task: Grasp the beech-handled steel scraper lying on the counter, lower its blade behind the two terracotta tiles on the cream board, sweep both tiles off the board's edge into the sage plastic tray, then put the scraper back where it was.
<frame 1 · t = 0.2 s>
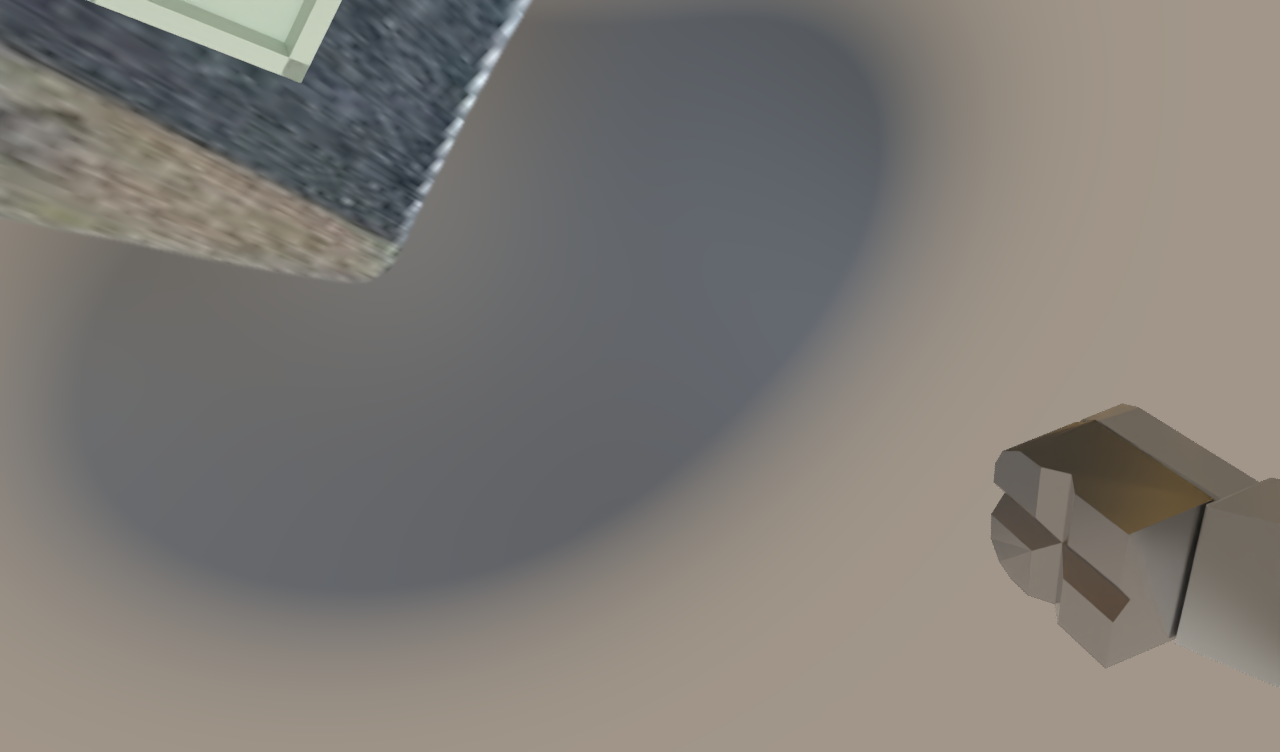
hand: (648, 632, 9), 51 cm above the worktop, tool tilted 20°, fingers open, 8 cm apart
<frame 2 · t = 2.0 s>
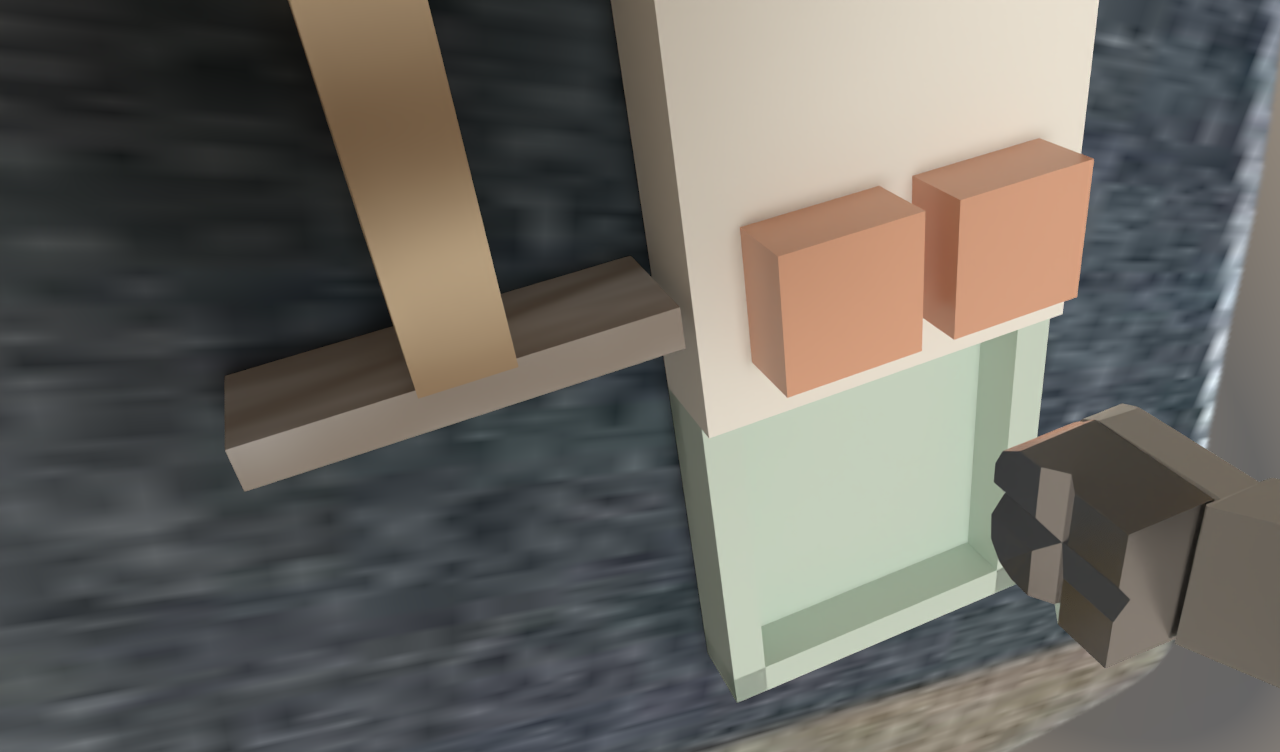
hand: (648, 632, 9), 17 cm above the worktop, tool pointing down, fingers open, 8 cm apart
tile 1: (813, 276, 25), point 3 cm above the worktop, touching board
scraper: (442, 330, 26), on the worktop
tray: (844, 475, 34), on the worktop
board: (832, 41, 26), on the worktop
tile 2: (973, 225, 26), point 3 cm above the worktop, touching board
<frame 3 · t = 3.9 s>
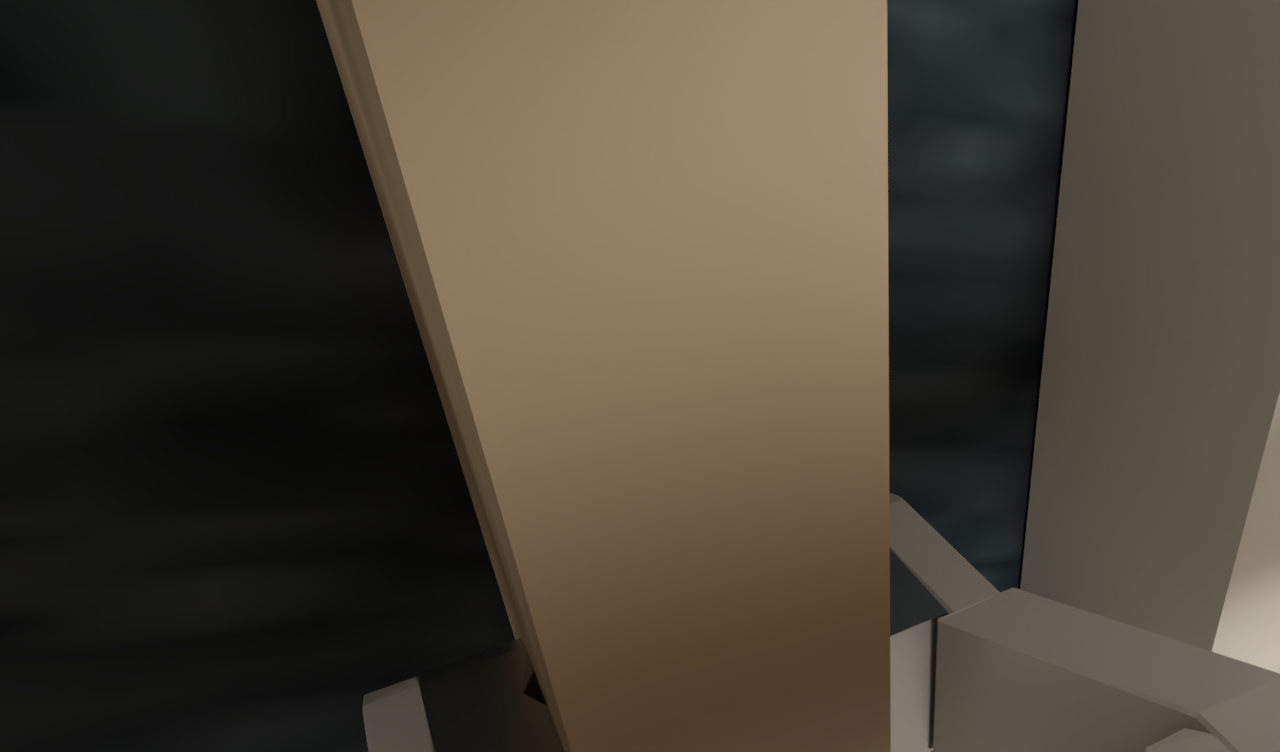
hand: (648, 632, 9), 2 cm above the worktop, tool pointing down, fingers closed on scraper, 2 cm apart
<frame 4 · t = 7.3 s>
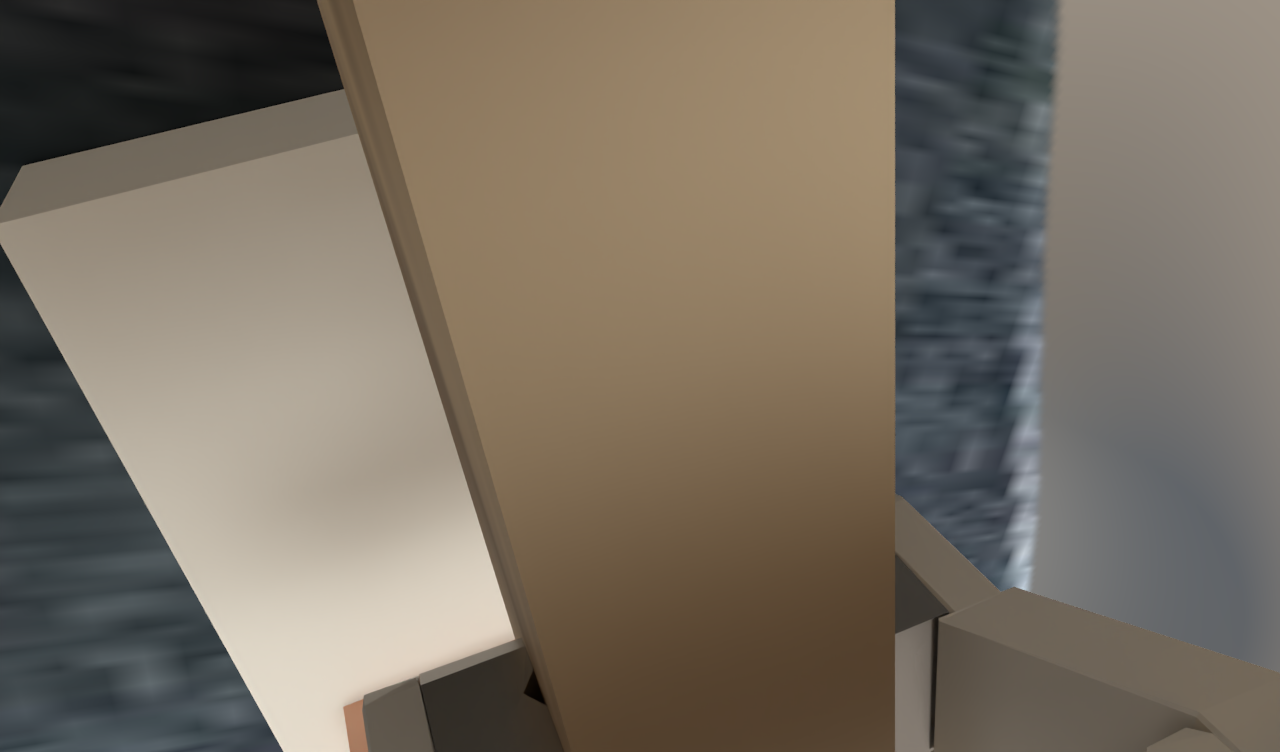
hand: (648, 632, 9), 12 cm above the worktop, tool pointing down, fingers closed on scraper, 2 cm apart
tile 1: (453, 727, 22), point 3 cm above the worktop, touching board
board: (477, 458, 23), on the worktop
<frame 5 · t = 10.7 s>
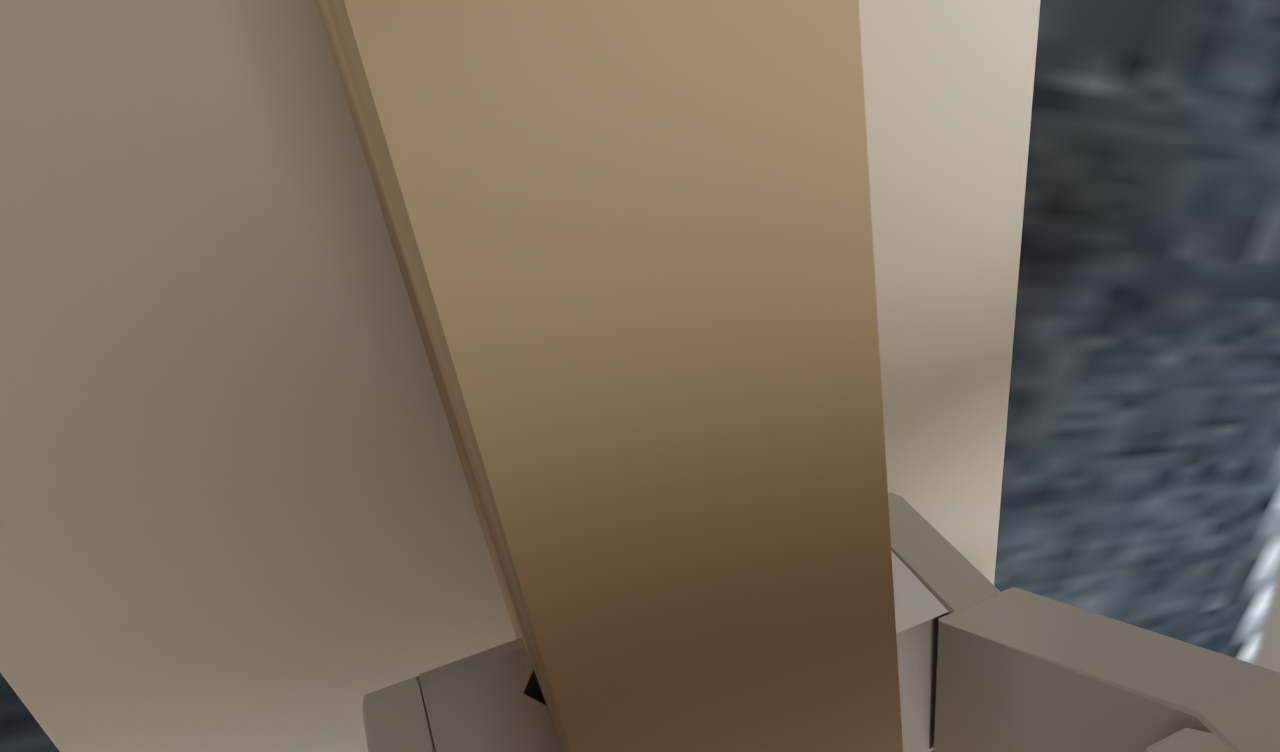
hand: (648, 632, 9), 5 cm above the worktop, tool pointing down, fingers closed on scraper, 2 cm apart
board: (443, 99, 11), on the worktop
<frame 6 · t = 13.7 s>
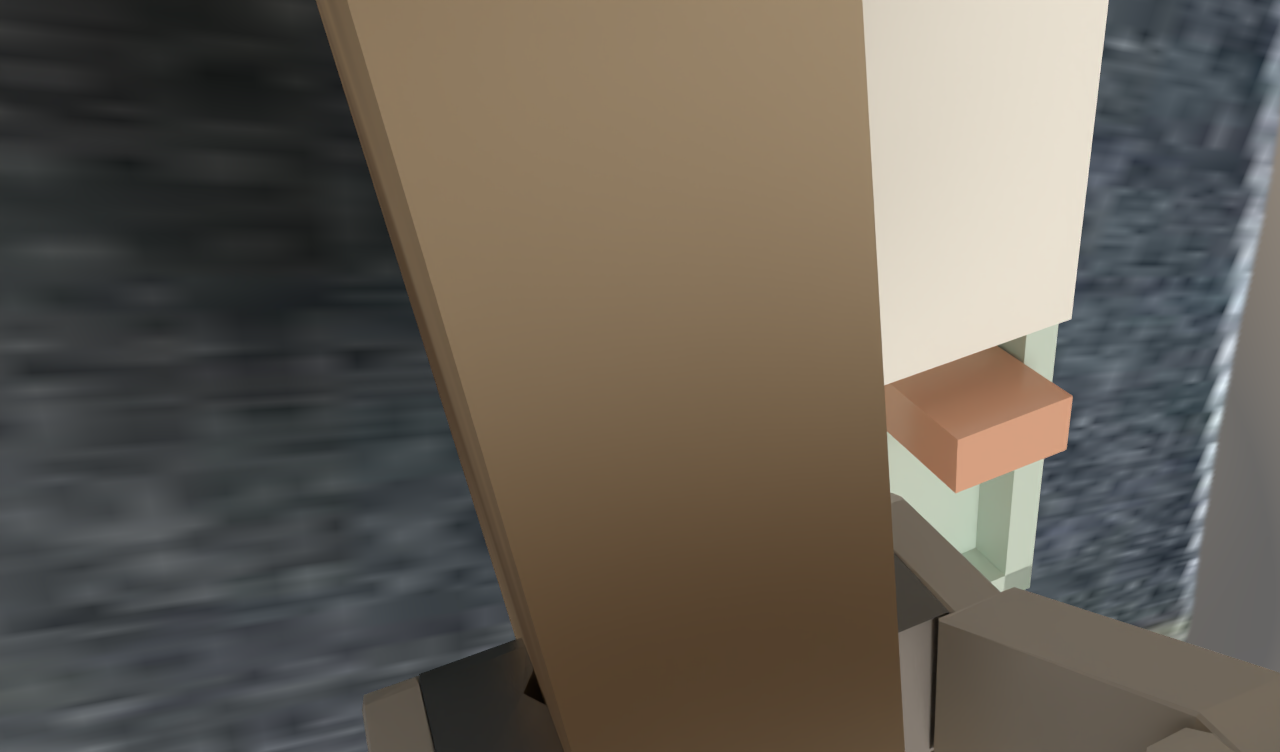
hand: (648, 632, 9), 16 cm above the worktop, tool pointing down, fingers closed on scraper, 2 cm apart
tray: (852, 480, 34), on the worktop
board: (839, 46, 25), on the worktop
tile 2: (972, 385, 29), point 3 cm above the worktop, tilted 90°, touching tray
when the fingers open (3 cm above the worktop, at t = 16.3 s): scraper drops 2 cm, on the worktop.
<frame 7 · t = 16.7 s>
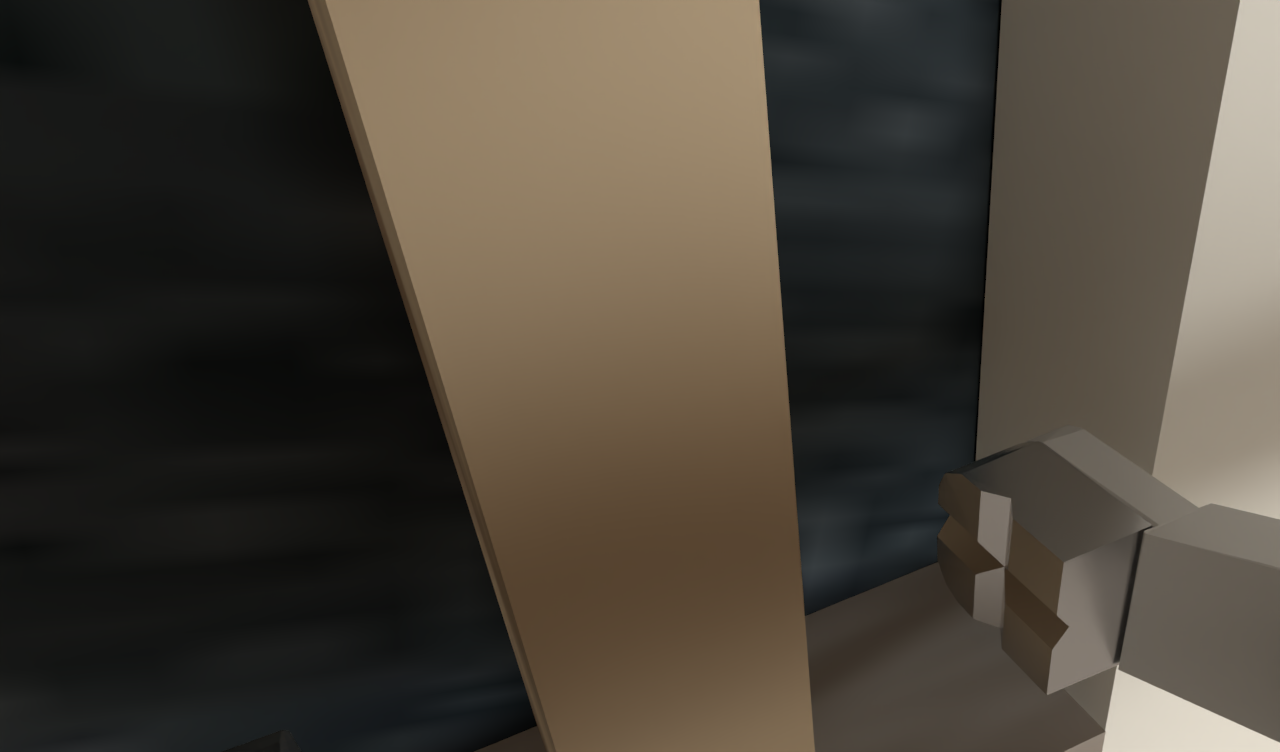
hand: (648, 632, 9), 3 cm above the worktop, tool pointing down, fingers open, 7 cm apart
scraper: (620, 715, 14), on the worktop
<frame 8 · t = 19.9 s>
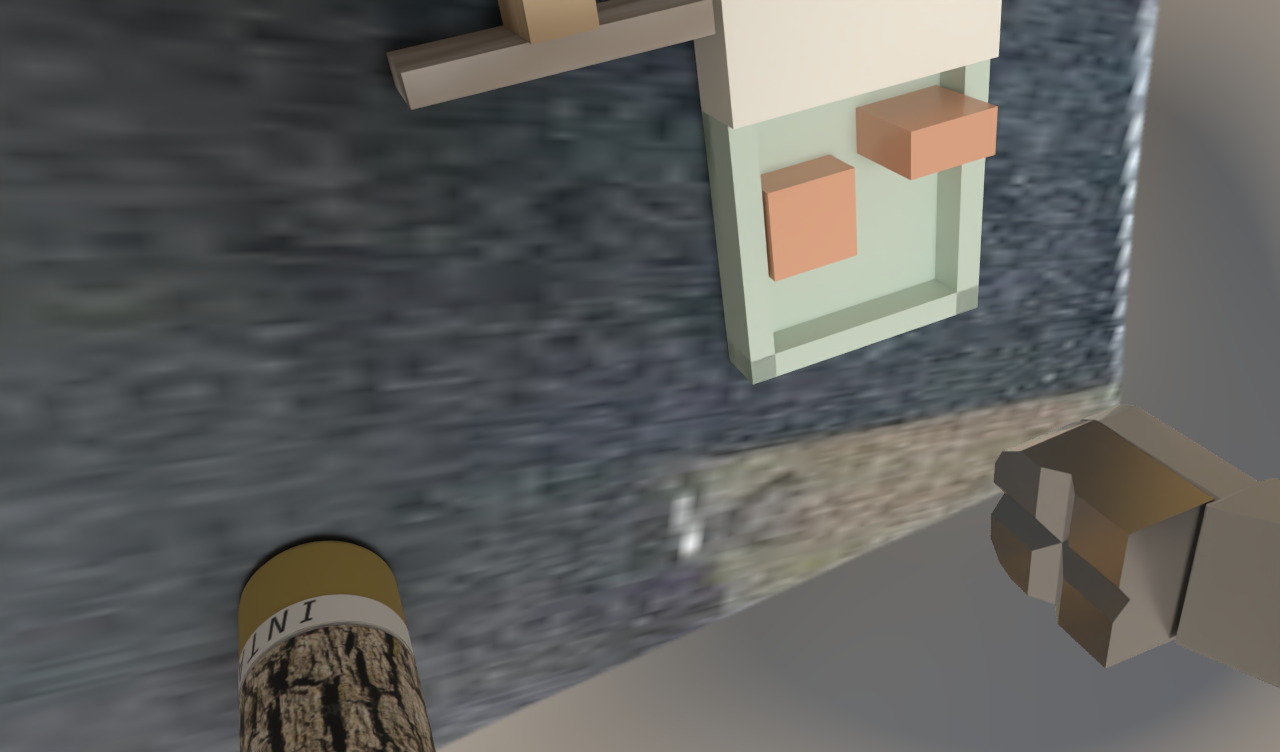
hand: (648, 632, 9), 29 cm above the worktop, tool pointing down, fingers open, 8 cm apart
tile 1: (814, 225, 40), point 3 cm above the worktop, tilted 180°, touching tray
scraper: (537, 34, 35), on the worktop
tray: (836, 208, 43), on the worktop
paper tube: (318, 591, 43), on the worktop
tile 2: (924, 107, 39), point 3 cm above the worktop, tilted 90°, touching tray
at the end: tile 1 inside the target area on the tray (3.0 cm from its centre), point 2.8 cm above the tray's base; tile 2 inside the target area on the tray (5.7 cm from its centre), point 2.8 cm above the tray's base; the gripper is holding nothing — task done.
